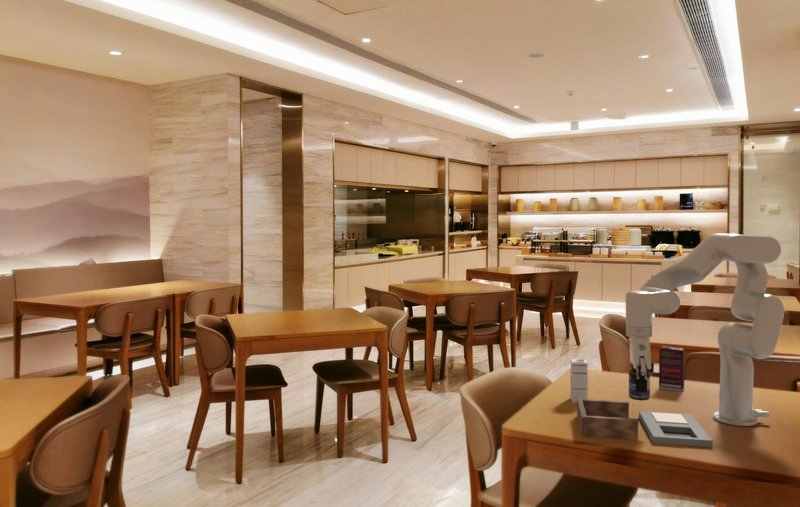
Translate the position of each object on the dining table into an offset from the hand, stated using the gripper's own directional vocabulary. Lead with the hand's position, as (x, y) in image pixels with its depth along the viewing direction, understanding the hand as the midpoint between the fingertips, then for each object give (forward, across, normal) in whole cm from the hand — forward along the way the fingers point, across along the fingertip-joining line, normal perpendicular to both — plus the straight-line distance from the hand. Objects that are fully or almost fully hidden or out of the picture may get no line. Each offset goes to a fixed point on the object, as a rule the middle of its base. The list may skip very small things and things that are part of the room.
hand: (639, 387), depth 191 cm
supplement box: (+15, +50, -20) cm, 56 cm away
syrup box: (+13, +27, +16) cm, 34 cm away
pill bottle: (+3, 0, 0) cm, 3 cm away
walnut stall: (+13, -1, +10) cm, 16 cm away
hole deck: (+13, 0, -10) cm, 17 cm away
